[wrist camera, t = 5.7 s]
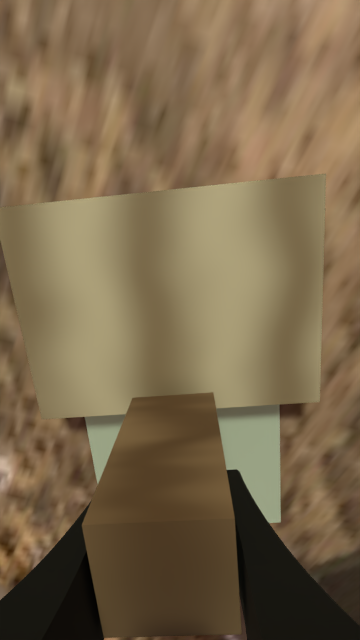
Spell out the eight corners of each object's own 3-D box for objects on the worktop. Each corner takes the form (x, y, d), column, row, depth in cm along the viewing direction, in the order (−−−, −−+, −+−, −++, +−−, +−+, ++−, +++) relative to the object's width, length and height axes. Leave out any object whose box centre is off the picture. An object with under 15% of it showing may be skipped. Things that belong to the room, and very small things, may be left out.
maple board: (304, 185, 15) (325, 173, 13) (302, 380, 18) (319, 401, 15) (22, 213, 16) (-7, 208, 14) (61, 396, 19) (41, 419, 16)
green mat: (277, 389, 18) (279, 393, 17) (278, 515, 20) (280, 522, 20) (85, 402, 19) (82, 406, 18) (108, 522, 21) (106, 529, 20)
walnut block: (213, 392, 14) (234, 518, 7) (218, 463, 15) (241, 634, 8) (132, 397, 15) (81, 525, 8) (141, 467, 15) (103, 637, 9)
